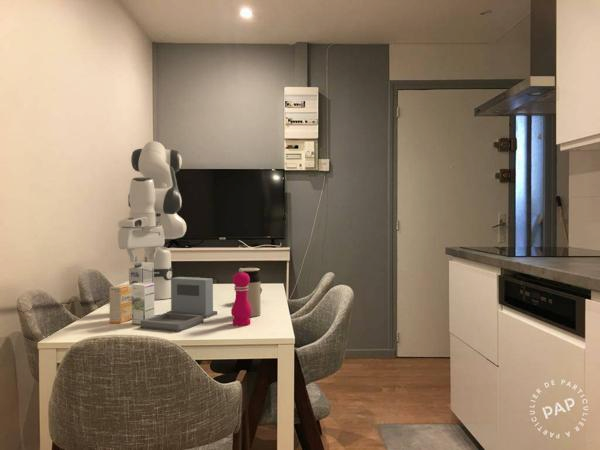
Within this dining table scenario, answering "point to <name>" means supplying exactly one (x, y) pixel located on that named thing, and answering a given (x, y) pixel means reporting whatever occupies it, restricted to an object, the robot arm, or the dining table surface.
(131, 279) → the milk carton
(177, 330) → the parts tray
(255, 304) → the travel mug
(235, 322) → the red pepper mill
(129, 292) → the supplement box
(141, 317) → the syrup box
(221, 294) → the dining table surface
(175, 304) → the control unit
